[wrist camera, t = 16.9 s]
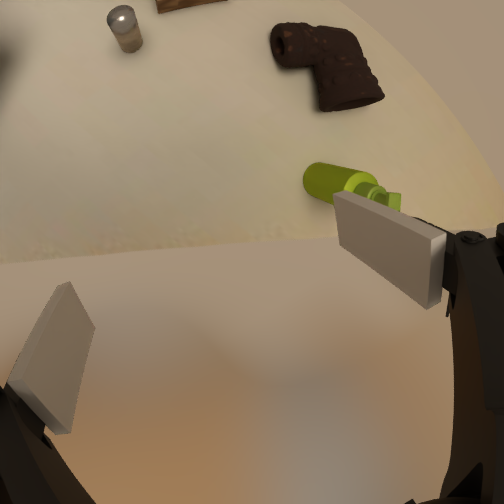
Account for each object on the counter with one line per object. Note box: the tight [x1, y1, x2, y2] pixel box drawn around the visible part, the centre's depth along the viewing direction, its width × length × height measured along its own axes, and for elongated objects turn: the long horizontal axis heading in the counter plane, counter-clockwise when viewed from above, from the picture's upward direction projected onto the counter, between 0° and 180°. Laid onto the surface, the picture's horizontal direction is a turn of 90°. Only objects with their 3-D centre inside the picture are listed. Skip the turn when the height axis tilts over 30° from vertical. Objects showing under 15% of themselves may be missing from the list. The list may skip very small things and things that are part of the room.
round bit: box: [107, 5, 143, 53], centre depth 30 cm, size 3×3×11 cm
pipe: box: [270, 22, 385, 112], centre depth 40 cm, size 10×15×15 cm
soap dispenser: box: [303, 163, 401, 212], centre depth 41 cm, size 6×7×20 cm
